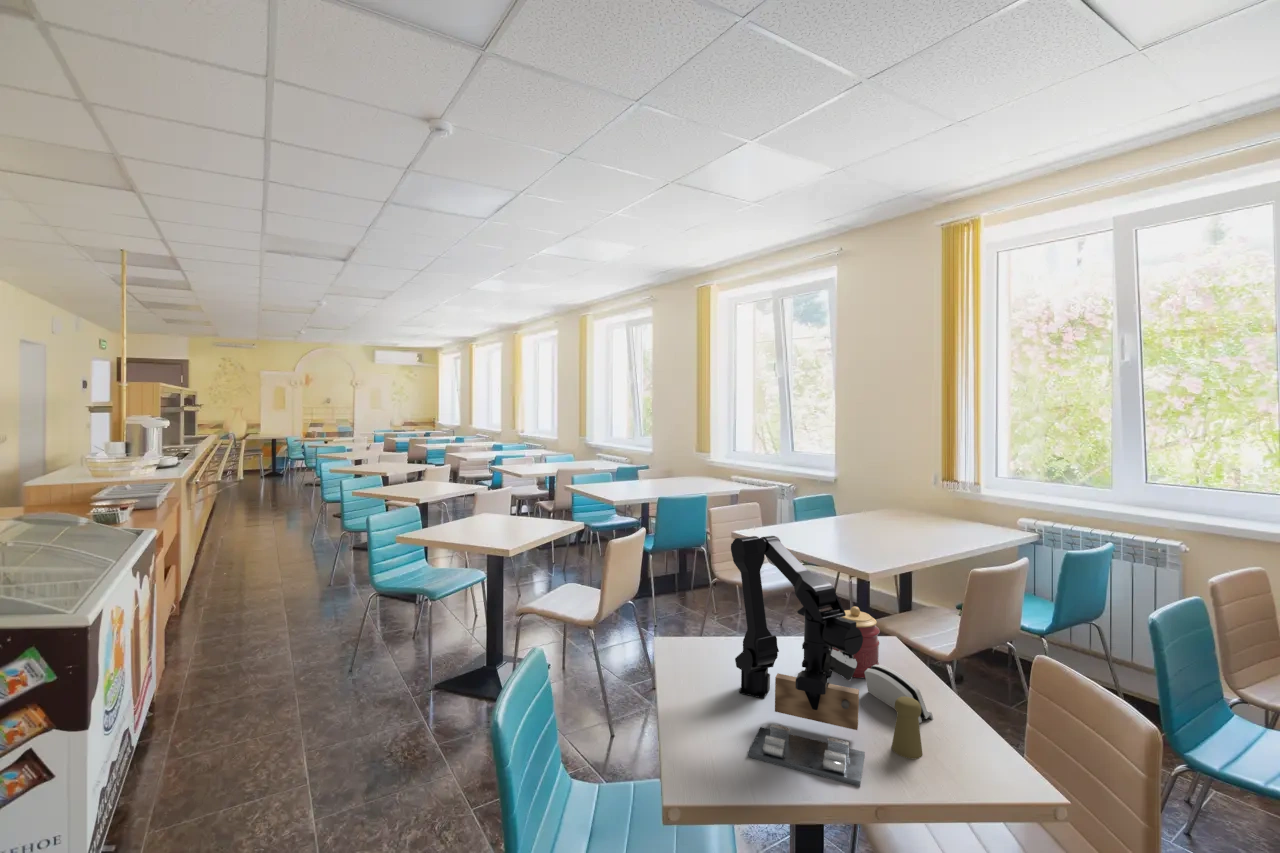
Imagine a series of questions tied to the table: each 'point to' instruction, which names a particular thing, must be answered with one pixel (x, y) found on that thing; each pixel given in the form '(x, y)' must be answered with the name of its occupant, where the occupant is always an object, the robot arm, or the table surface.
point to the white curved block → (893, 688)
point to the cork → (907, 728)
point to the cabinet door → (833, 705)
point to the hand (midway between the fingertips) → (815, 706)
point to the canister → (864, 641)
